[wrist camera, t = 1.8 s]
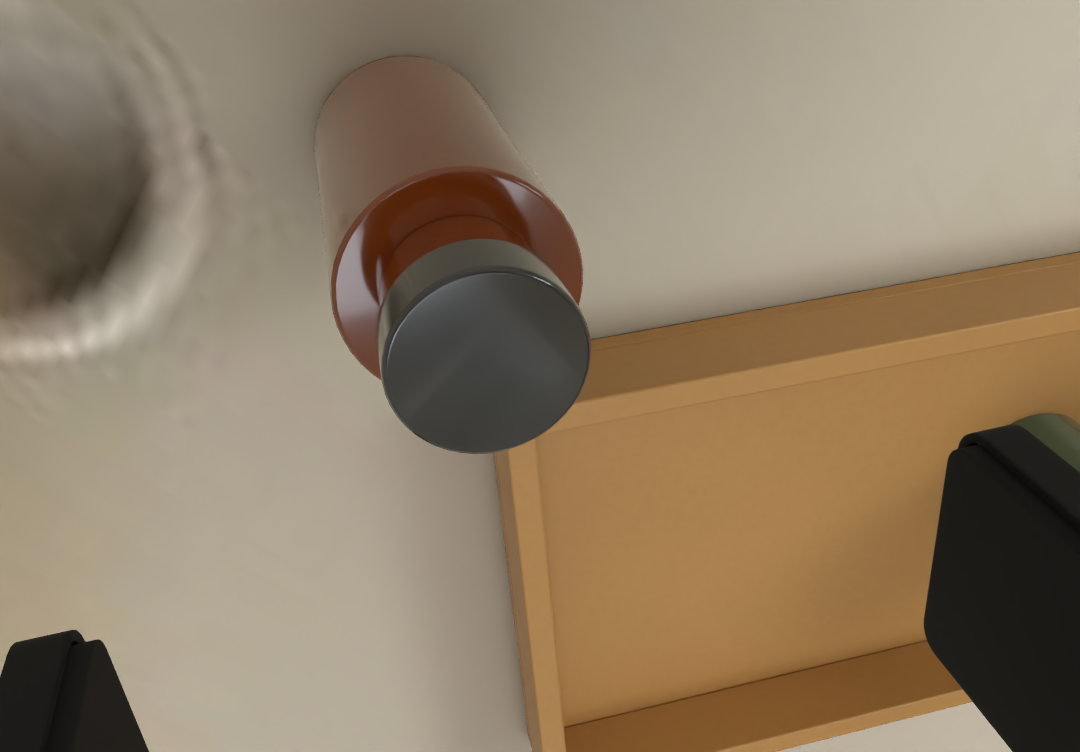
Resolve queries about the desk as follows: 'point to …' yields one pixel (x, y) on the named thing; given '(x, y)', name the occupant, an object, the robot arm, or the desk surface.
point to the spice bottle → (447, 259)
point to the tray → (766, 511)
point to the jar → (1056, 434)
